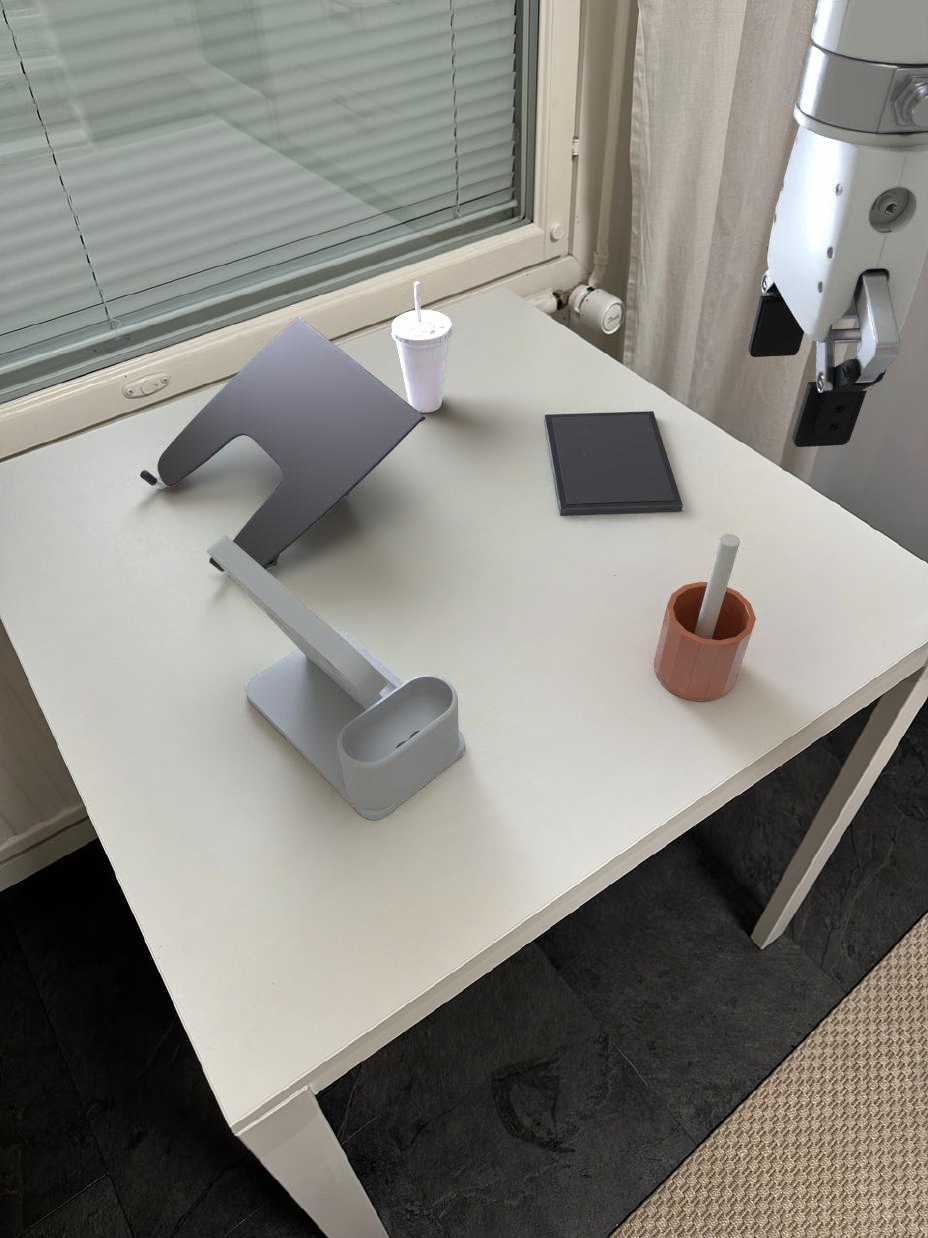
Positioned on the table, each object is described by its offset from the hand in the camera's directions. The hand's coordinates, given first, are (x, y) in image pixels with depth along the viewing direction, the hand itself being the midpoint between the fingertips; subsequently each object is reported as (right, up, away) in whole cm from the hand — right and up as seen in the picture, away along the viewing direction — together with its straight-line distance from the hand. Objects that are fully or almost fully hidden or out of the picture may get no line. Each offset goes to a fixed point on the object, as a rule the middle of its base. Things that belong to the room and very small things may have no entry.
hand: (794, 395), depth 55 cm
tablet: (-5, +2, +38) cm, 38 cm away
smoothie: (-25, +10, +46) cm, 53 cm away
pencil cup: (-1, -18, +19) cm, 26 cm away
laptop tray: (-39, -1, +35) cm, 53 cm away
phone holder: (-29, -22, +16) cm, 40 cm away
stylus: (-1, -18, +18) cm, 25 cm away
